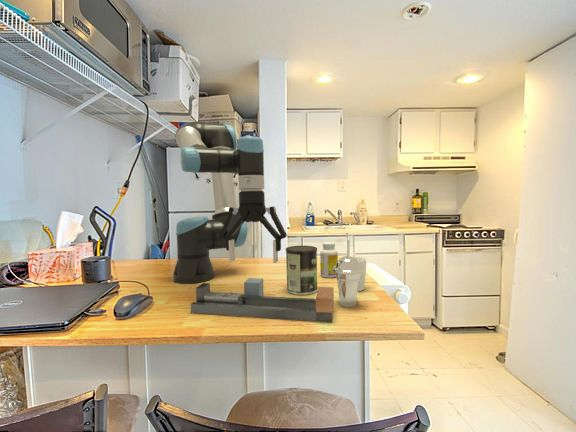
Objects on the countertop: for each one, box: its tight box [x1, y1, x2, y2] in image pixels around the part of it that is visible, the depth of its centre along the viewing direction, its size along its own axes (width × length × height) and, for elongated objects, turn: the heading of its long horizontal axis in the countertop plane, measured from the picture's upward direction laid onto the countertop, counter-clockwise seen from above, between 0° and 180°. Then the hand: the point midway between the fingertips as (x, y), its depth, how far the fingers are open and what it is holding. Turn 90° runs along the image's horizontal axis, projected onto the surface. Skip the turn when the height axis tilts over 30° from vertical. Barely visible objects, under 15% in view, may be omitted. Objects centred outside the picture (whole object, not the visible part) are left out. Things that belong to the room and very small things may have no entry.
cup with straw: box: [333, 232, 363, 308], centre depth 85 cm, size 8×9×20 cm
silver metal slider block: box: [195, 282, 243, 305], centre depth 84 cm, size 12×4×6 cm, turn 79°
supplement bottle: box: [319, 241, 339, 279], centre depth 114 cm, size 7×7×13 cm
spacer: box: [243, 277, 265, 296], centre depth 90 cm, size 5×5×6 cm
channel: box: [190, 286, 335, 323], centre depth 81 cm, size 38×9×6 cm, turn 79°
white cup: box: [352, 256, 367, 292], centre depth 99 cm, size 8×8×10 cm
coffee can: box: [285, 245, 318, 296], centre depth 98 cm, size 10×10×14 cm
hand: (253, 261), depth 89 cm, fingers open, 13 cm apart
